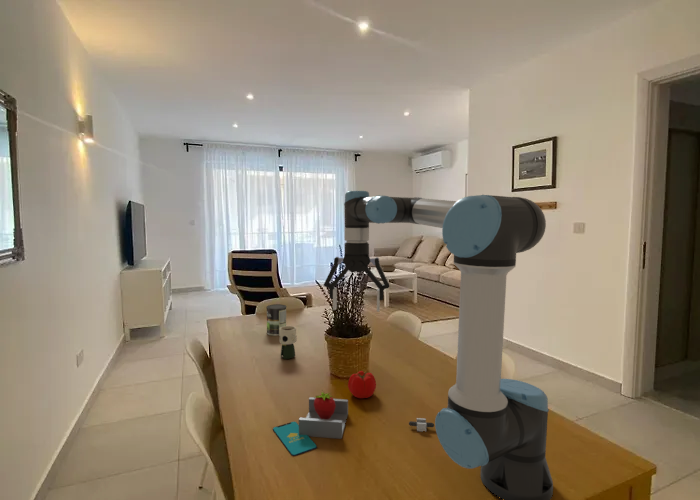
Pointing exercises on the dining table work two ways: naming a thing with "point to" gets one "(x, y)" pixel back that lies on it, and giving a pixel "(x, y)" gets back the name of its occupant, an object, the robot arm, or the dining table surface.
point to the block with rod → (421, 424)
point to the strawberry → (324, 405)
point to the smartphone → (294, 439)
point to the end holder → (325, 421)
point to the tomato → (362, 384)
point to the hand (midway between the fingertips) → (356, 309)
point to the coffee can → (275, 318)
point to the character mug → (287, 341)
